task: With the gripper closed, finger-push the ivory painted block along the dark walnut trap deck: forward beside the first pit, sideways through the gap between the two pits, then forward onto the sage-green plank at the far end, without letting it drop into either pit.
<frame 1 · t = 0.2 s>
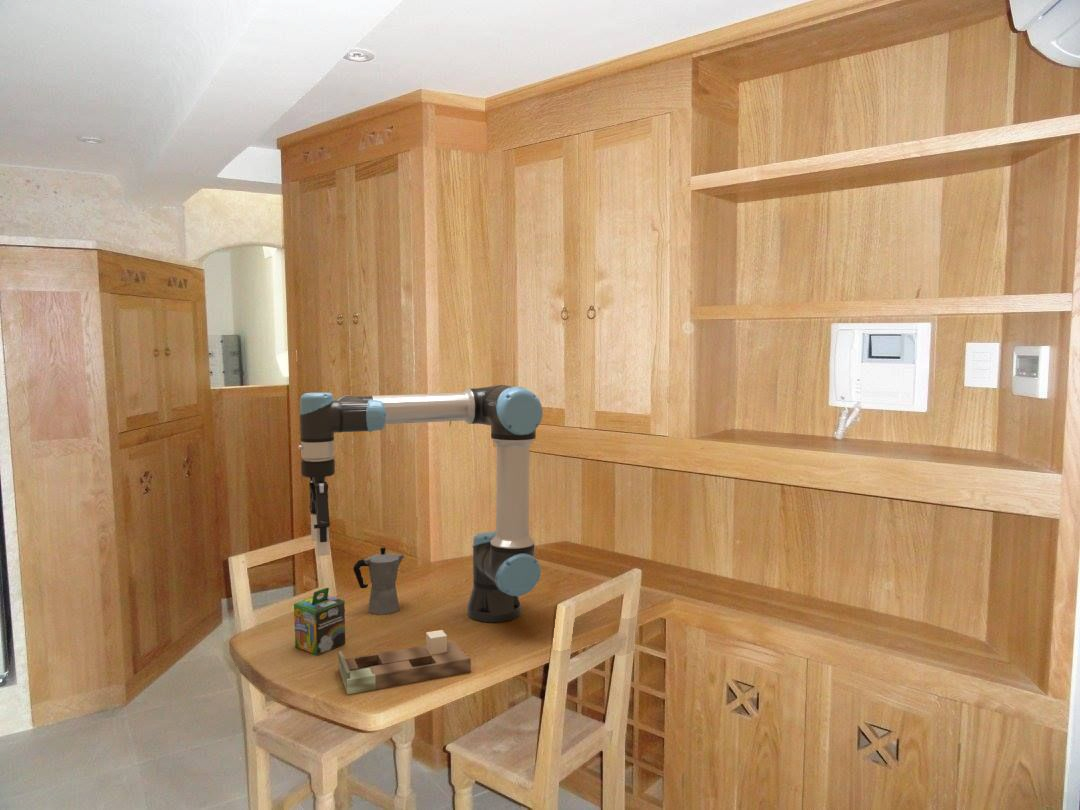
hand: (320, 547, 176), 28 cm above the table, fingers open, 13 cm apart
ivory block: (436, 650, 179), point 2 cm above the table, touching trap deck
coffeepot: (380, 610, 212), on the table
trap deck: (404, 671, 173), on the table
chalk box: (320, 646, 188), on the table
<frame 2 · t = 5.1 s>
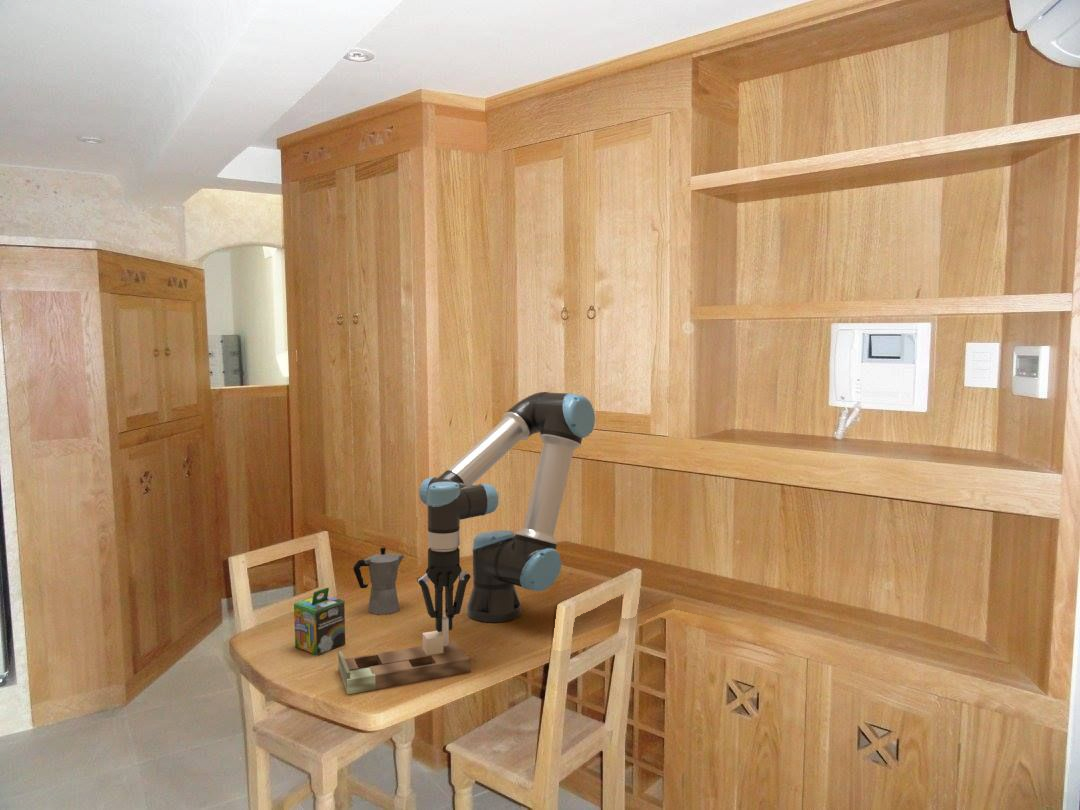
hand: (444, 643, 179), 4 cm above the table, fingers closed
ivory block: (432, 650, 178), point 3 cm above the table, touching gripper
everything else where it was.
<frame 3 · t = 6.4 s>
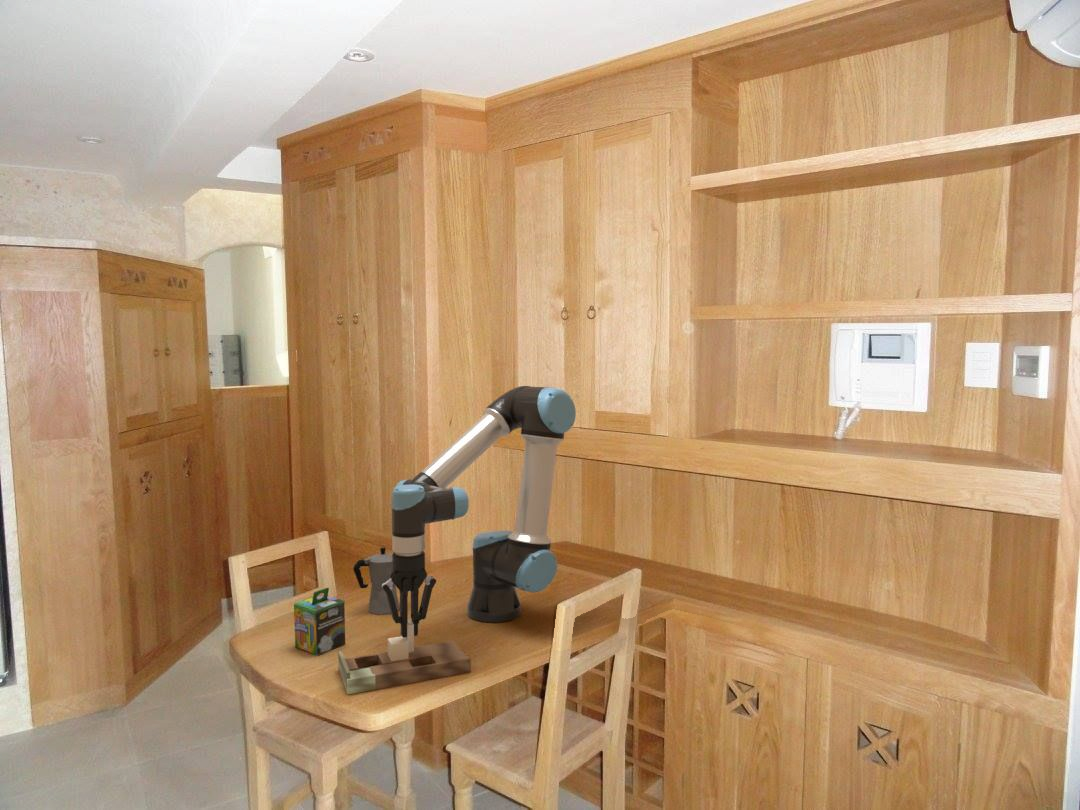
hand: (409, 649, 176), 4 cm above the table, fingers closed
ivory block: (398, 656, 175), point 3 cm above the table, touching gripper, trap deck
everything else where it was.
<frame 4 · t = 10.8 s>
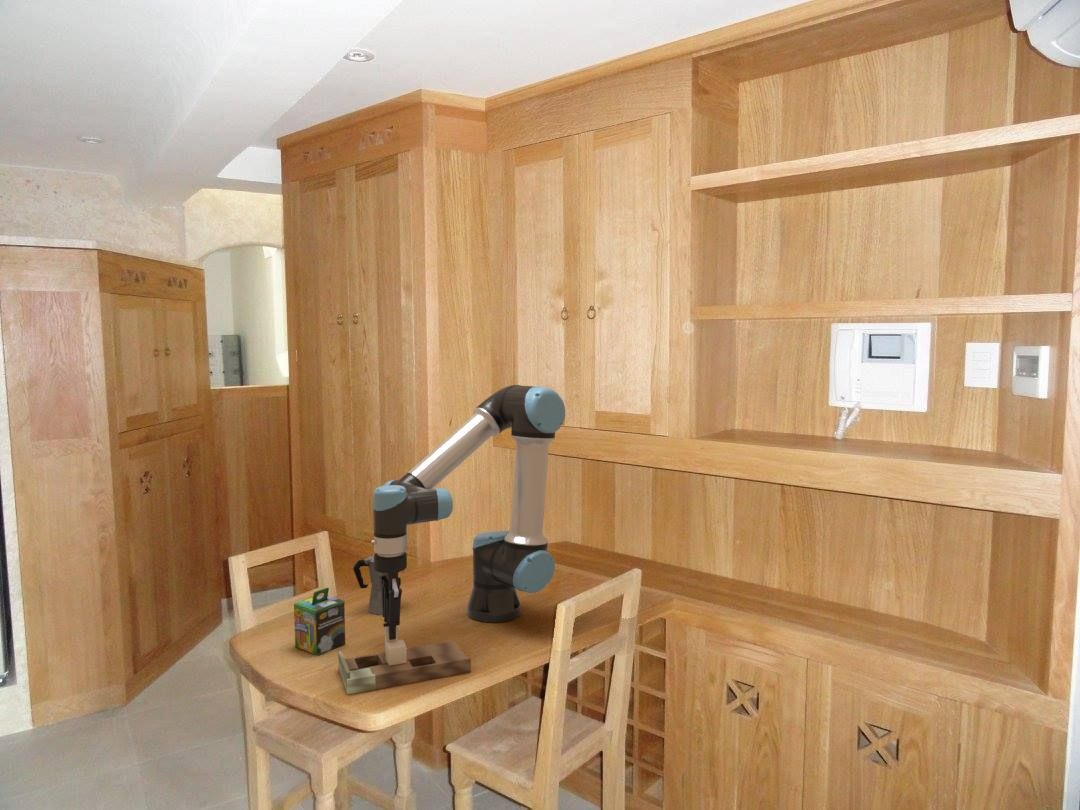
hand: (391, 650, 175), 4 cm above the table, fingers closed
ivory block: (396, 660, 173), point 3 cm above the table
everything else where it was.
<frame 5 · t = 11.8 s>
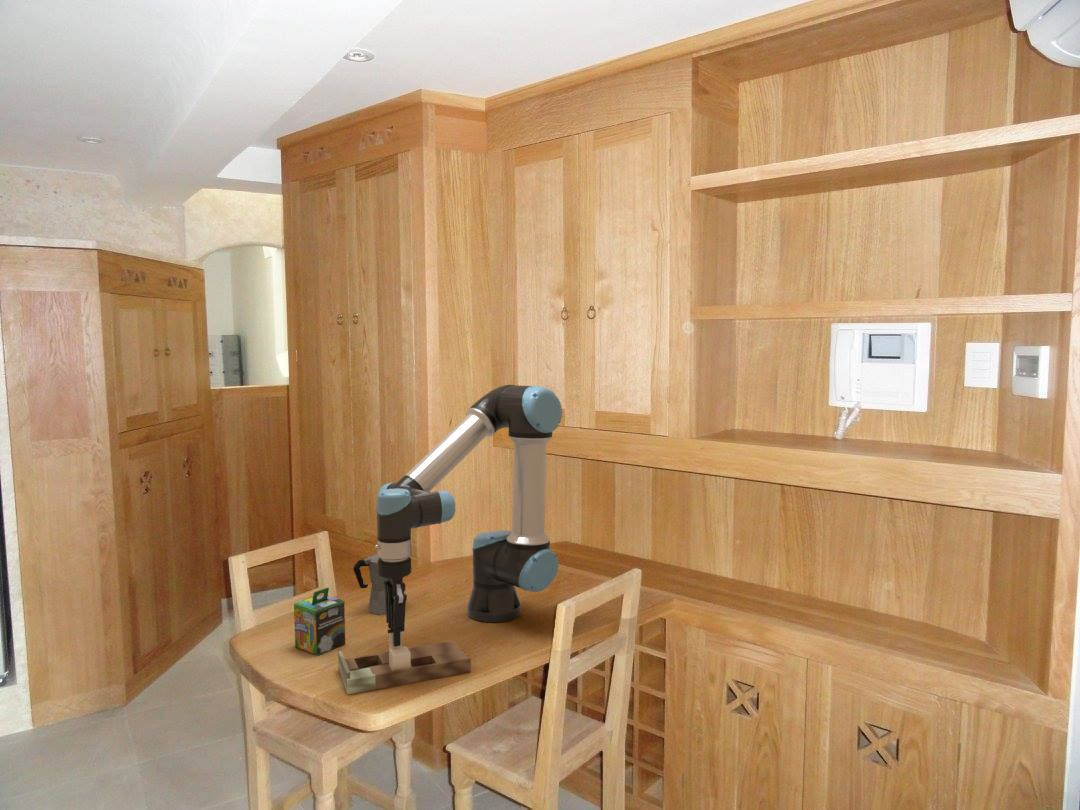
hand: (395, 657, 172), 4 cm above the table, fingers closed
ivory block: (399, 667, 170), point 2 cm above the table, touching gripper, trap deck
everything else where it was.
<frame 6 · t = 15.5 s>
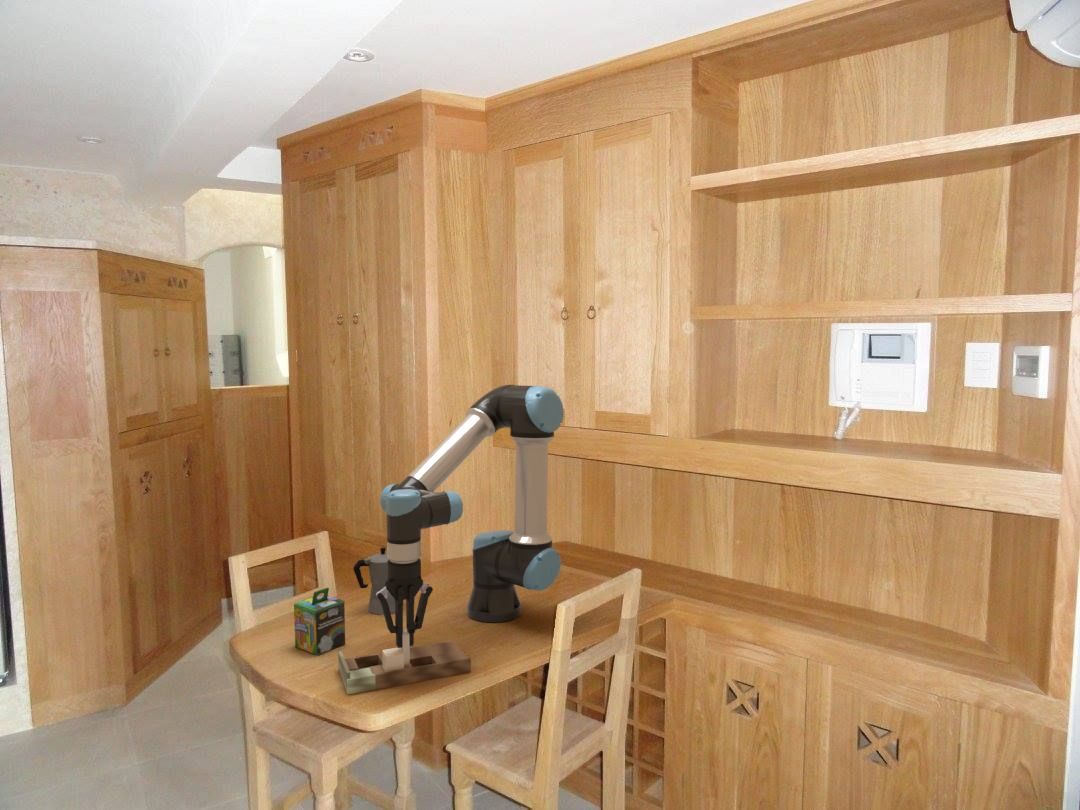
hand: (405, 660, 170), 4 cm above the table, fingers closed
ivory block: (393, 668, 169), point 2 cm above the table
everything else where it was.
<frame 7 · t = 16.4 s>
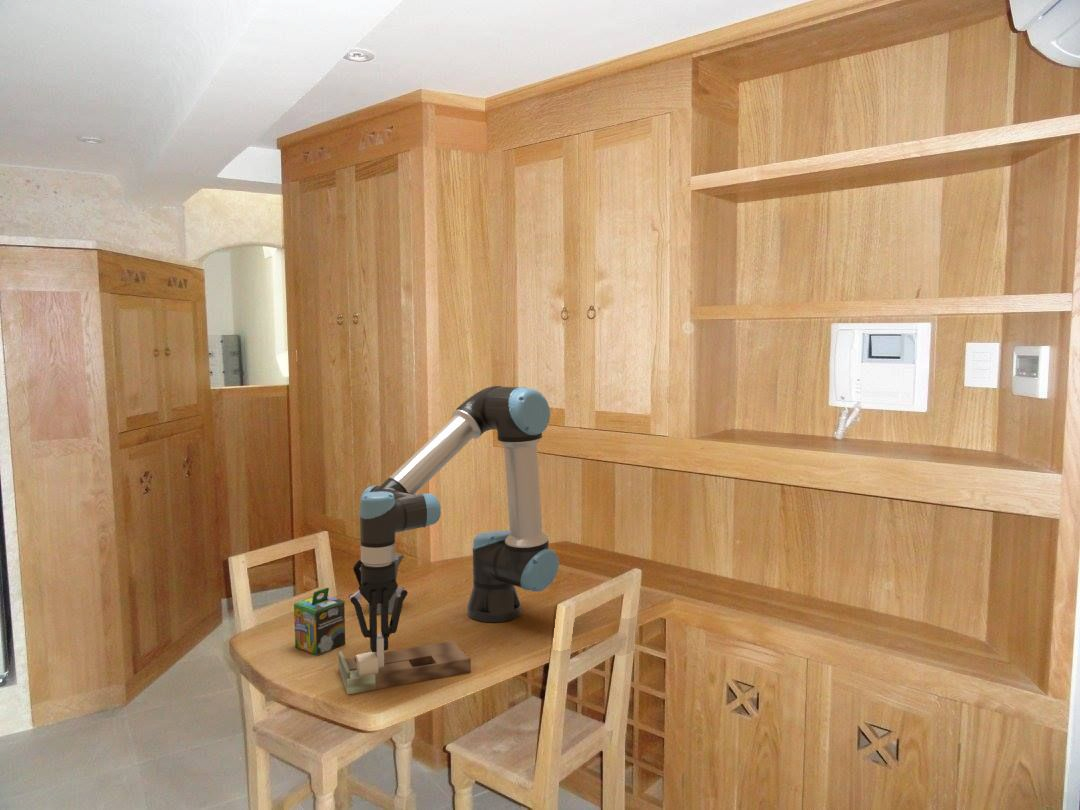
hand: (379, 664, 168), 4 cm above the table, fingers closed
ivory block: (367, 673, 167), point 2 cm above the table, touching gripper
everything else where it was.
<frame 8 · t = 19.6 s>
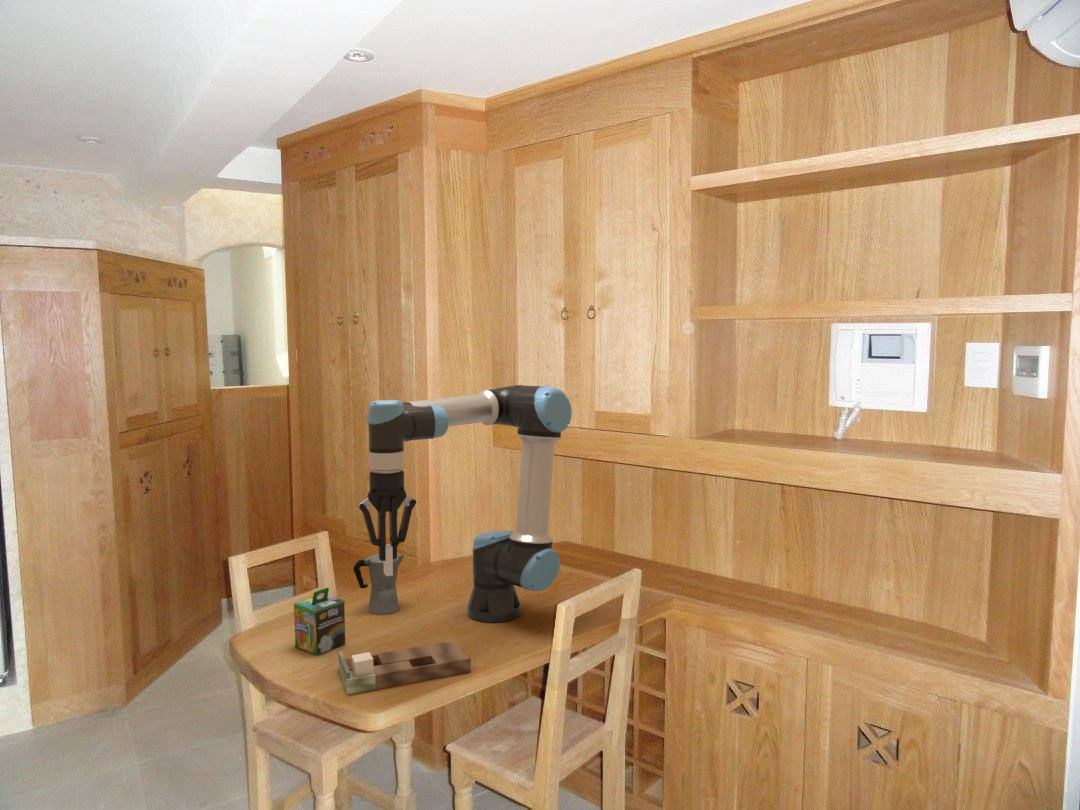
hand: (388, 574, 167), 24 cm above the table, fingers closed
ivory block: (363, 674, 166), point 2 cm above the table, touching trap deck
everything else where it was.
at the end: ivory block inside the target area (0.1 cm from its centre), point 2.3 cm above the table; ivory block tilted 2° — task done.
